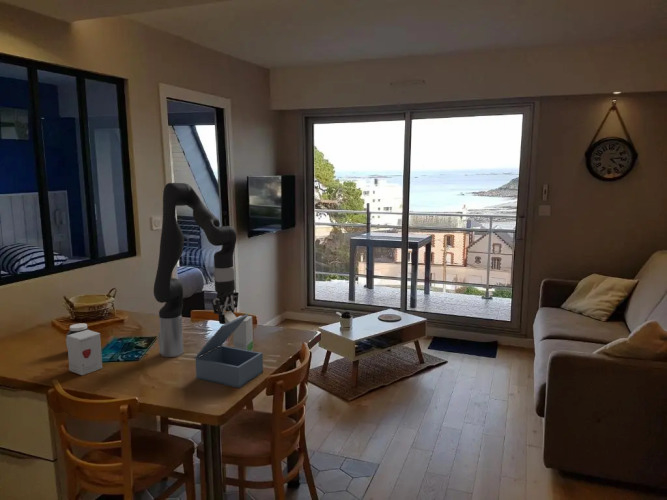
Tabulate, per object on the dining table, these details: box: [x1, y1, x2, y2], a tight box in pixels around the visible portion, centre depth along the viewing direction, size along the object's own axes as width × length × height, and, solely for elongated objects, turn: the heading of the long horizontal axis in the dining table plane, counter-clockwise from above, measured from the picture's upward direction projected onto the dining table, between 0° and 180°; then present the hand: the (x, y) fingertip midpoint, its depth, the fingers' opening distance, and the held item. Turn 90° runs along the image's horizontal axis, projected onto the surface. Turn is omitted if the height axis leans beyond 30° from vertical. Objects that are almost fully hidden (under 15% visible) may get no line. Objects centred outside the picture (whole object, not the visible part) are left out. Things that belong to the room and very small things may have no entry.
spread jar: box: [65, 322, 90, 350], centre depth 209 cm, size 12×11×12 cm
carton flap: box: [194, 310, 249, 360], centre depth 186 cm, size 20×16×5 cm
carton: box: [195, 344, 264, 389], centre depth 186 cm, size 20×16×8 cm
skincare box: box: [232, 315, 254, 351], centre depth 210 cm, size 8×7×16 cm
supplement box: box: [66, 329, 103, 376], centre depth 190 cm, size 9×9×15 cm
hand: (226, 321), depth 183 cm, fingers closed on carton flap, 5 cm apart
